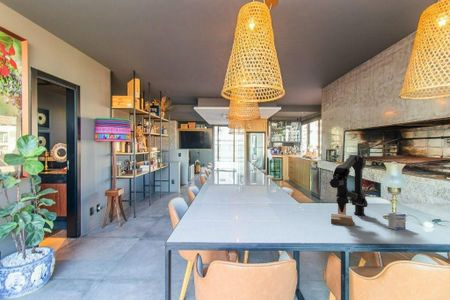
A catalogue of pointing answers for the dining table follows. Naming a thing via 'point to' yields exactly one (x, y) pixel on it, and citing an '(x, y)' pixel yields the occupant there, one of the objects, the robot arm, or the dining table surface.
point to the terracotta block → (343, 210)
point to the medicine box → (397, 221)
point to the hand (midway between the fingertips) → (341, 211)
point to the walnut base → (341, 219)
